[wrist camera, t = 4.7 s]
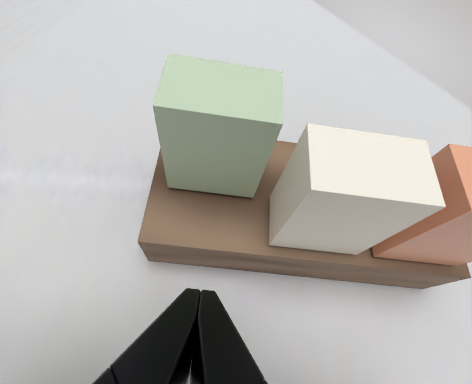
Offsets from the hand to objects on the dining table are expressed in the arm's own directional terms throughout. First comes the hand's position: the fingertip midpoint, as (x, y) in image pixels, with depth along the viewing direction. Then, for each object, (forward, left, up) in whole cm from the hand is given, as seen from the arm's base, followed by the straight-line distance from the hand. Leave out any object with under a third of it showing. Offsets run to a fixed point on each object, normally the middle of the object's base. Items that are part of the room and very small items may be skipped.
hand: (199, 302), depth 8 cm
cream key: (+2, -8, -6) cm, 10 cm away
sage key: (+7, -4, -6) cm, 10 cm away
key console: (+3, -9, -10) cm, 14 cm away
